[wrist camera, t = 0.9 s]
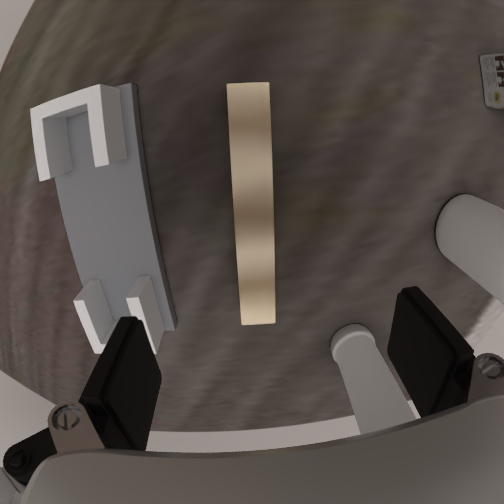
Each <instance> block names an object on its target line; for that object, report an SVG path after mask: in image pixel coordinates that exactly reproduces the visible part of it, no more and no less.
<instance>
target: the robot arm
mask: <svg viewBox="0 0 504 504" xmlns="http://www.w3.org/2000/svg"><path fill="white" fill-rule="evenodd" d="M387 352H388V356H389V358H390V360H391V362H392V364H393V365H394V367H395V369H396V371H397V373H398V375H399V376H400V378H401V380H402V382H403V384H404V386H405V388H406V390H407V391H408V393H409V395H410V397H411V399H412V401H413V403H414V405H415V407H416V409H417V411H418V413H419V415H420V416H421V418H419V419H416V420H413V421H410V422H407V423H403V424H400V425H396V426H393V427H389V428H385V429H382V430H378V431H374V432H370V433H365V434H361V435H357V436H352V437H347V438H343V439H338V440H332V441H327V442H322V443H315V444H308V445H302V446H294V447H287V448H278V449H268V450H256V451H242V452H221V453H180V452H151V451H145V450H146V446H147V441H148V436H149V432H150V428H151V423H152V419H153V415H154V410H155V406H156V402H157V398H158V393H159V389H160V385H161V381H162V377H161V372H160V369H159V366H158V364H157V361H156V358H155V356H154V353H153V350H152V347H151V344H150V341H149V338H148V336H147V333H146V330H145V327H144V323H143V321H142V320H138V318H137V317H136V316H123V317H120V319H119V321H118V323H117V325H116V326H115V328H114V330H113V332H112V334H111V336H110V338H109V340H108V342H107V344H106V346H105V348H104V350H103V352H102V354H101V355H100V357H99V359H98V361H97V363H96V365H95V367H94V369H93V371H92V374H91V376H90V378H89V380H88V382H87V384H86V386H85V388H84V391H83V393H82V395H81V397H80V399H79V402H76V401H65V402H62V403H60V404H58V405H57V406H55V407H54V408H53V409H52V410H51V412H50V414H49V416H48V426H49V427H48V428H46V429H44V430H42V431H40V432H38V433H36V434H34V435H32V436H30V437H28V438H26V439H25V440H23V441H21V442H19V443H17V444H15V445H13V446H12V447H10V448H9V449H8V450H7V451H6V453H5V455H4V459H3V465H4V466H3V467H2V468H1V467H0V504H504V360H503V359H502V358H501V357H500V356H498V355H495V354H492V353H485V354H481V355H479V356H477V358H476V357H475V356H474V355H473V353H474V350H473V349H472V348H471V346H470V345H469V344H468V343H467V341H466V340H465V339H464V338H463V337H462V336H461V334H460V333H459V332H458V331H457V330H456V329H455V327H454V326H453V325H452V324H451V323H450V322H449V320H448V319H447V318H446V317H445V316H444V315H443V314H442V313H441V311H440V310H439V309H438V308H437V307H436V306H435V305H434V304H433V303H432V301H431V300H430V299H429V298H428V297H427V296H426V295H425V294H424V293H423V292H422V291H421V290H420V289H419V287H417V286H413V287H407V288H403V289H402V290H401V293H398V295H397V300H396V306H395V312H394V317H393V323H392V328H391V333H390V338H389V343H388V348H387Z"/></svg>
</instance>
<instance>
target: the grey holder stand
mask: <svg viewBox="0 0 504 504" xmlns="http://www.w3.org/2000/svg"><path fill="white" fill-rule="evenodd" d="M30 112H31V124H32V133H33V141H34V149H35V156H36V162H37V169H38V174H39V180H40V181H43V180H46V179H50V178H53V177H55V182H56V187H57V192H58V197H59V202H60V206H61V211H62V215H63V219H64V223H65V227H66V231H67V235H68V239H69V243H70V246H71V250H72V253H73V257H74V260H75V264H76V267H77V270H78V273H79V276H80V279H81V282H82V285H83V289H82V290H81V291H80V293H79V294H78V295H77V296H76V298H75V299H74V300H73V302H74V305H75V307H76V310H77V312H78V315H79V317H80V320H81V322H82V325H83V327H84V330H85V332H86V334H87V337H88V339H89V341H90V344H91V346H92V348H93V350H94V352H95V353H98V354H102V352H103V350H104V348H105V346H106V344H107V342H108V340H109V338H110V336H111V334H112V332H113V330H114V328H115V326H116V325H117V323H118V321H119V319H120V317H123V316H136V317H137V318H138V320H142V321H143V323H144V327H145V330H146V333H147V336H148V338H149V341H150V344H151V347H152V350H153V353H154V354H157V351H158V348H159V344H160V341H161V338H162V335H163V332H164V331H175V329H176V326H177V318H176V314H175V310H174V306H173V302H172V298H171V294H170V290H169V286H168V281H167V277H166V272H165V268H164V263H163V259H162V254H161V249H160V244H159V239H158V234H157V229H156V224H155V218H154V213H153V207H152V201H151V195H150V189H149V183H148V177H147V170H146V163H145V156H144V149H143V141H142V133H141V125H140V116H139V106H138V96H137V85H136V84H133V83H127V84H123V85H120V86H116V87H110V86H106V85H102V84H98V85H95V86H91V87H88V88H85V89H82V90H79V91H76V92H73V93H70V94H67V95H65V96H62V97H59V98H56V99H54V100H51V101H49V102H46V103H44V104H41V105H39V106H36V107H34V108H31V109H30Z"/></svg>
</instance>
